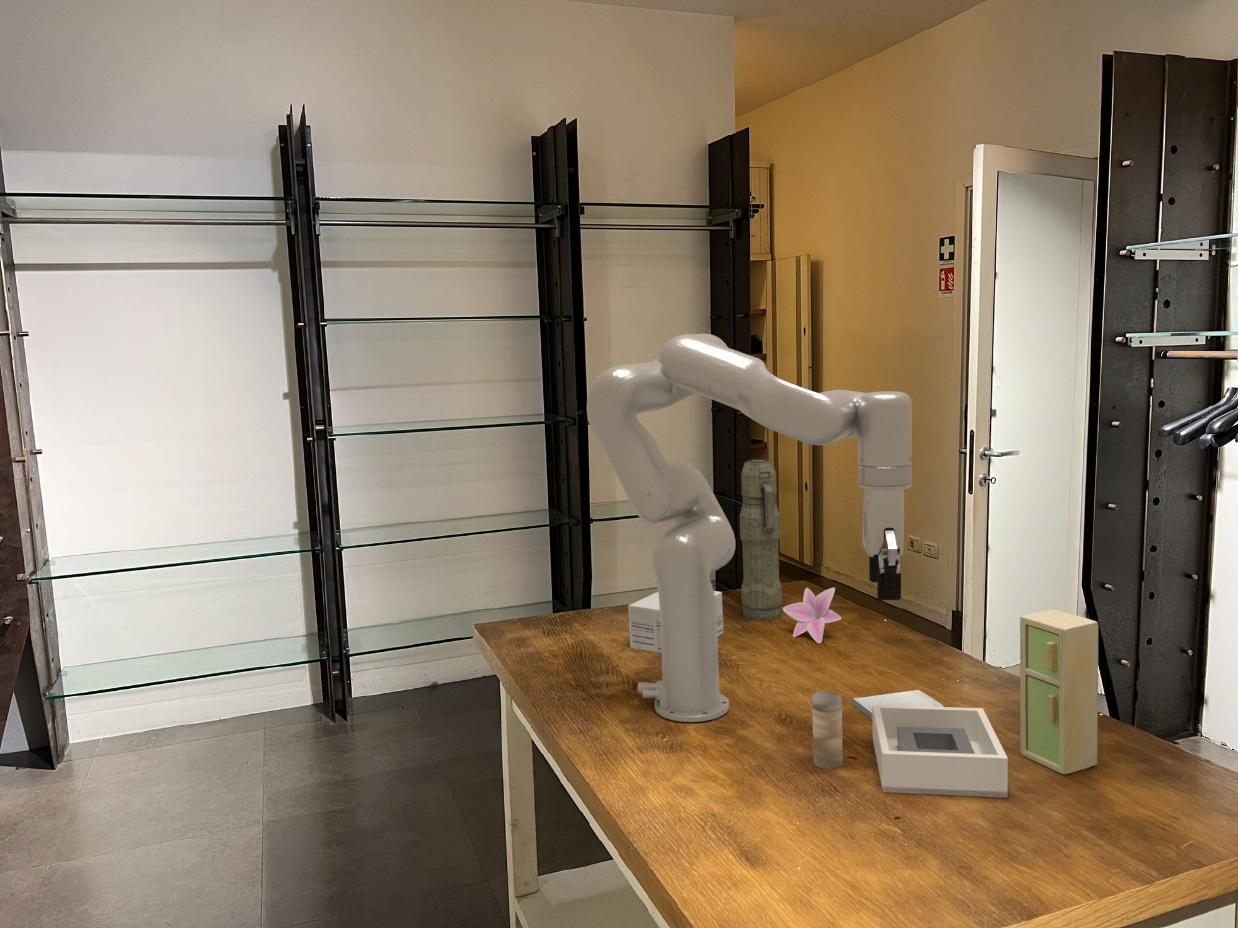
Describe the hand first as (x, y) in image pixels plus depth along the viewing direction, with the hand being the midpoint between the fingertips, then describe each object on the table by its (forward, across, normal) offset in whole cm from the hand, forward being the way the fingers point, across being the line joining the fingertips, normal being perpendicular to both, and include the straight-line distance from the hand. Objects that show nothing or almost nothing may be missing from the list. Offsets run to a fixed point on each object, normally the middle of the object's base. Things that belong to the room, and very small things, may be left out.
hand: (884, 590), depth 139 cm
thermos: (+24, -67, -18) cm, 74 cm away
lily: (+24, -53, -8) cm, 59 cm away
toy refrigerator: (+24, +4, +23) cm, 34 cm away
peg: (+24, +7, -9) cm, 26 cm away
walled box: (+24, +7, +6) cm, 26 cm away
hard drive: (+25, -14, +4) cm, 29 cm away
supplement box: (+25, -49, -36) cm, 65 cm away
